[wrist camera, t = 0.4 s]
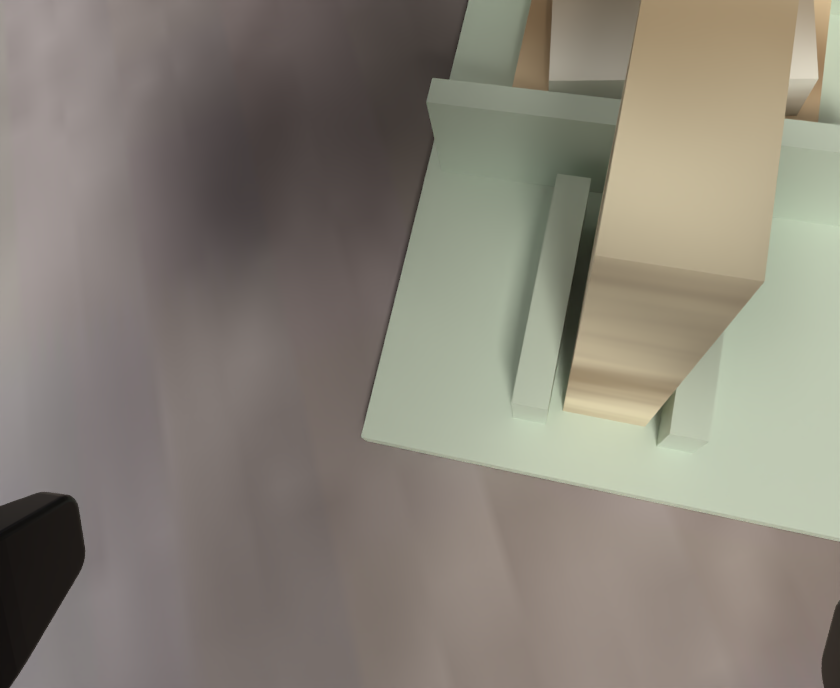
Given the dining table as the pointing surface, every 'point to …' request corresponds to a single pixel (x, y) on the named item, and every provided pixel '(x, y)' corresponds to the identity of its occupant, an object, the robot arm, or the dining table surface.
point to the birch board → (682, 199)
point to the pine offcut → (538, 41)
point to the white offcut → (612, 39)
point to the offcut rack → (563, 295)
